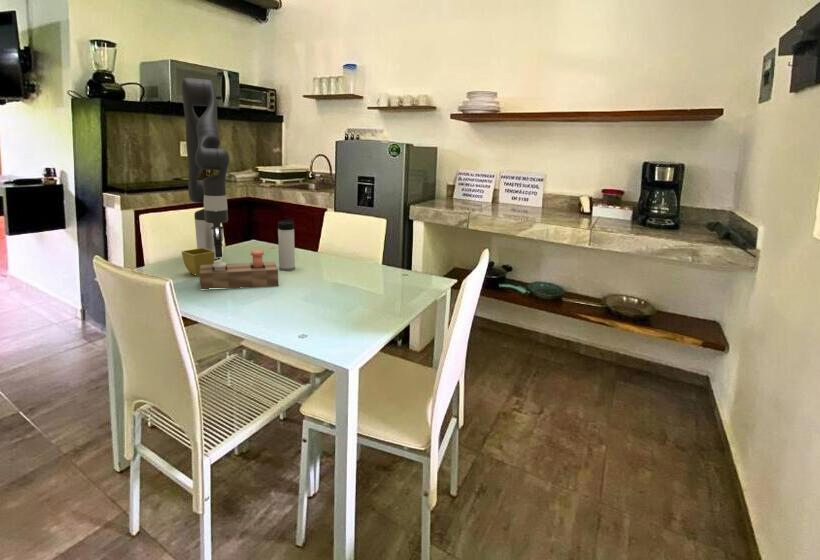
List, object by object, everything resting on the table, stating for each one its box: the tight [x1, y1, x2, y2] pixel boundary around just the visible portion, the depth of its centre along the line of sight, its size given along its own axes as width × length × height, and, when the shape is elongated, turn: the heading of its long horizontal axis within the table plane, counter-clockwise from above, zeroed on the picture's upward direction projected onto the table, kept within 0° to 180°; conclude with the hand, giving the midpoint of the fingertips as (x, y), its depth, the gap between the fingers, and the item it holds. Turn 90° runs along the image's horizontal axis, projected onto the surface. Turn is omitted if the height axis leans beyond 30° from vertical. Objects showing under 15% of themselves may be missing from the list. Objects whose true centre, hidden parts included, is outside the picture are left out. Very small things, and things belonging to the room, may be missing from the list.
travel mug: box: [277, 218, 296, 272], centre depth 195 cm, size 6×7×20 cm
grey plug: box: [213, 261, 227, 270], centre depth 172 cm, size 4×4×7 cm
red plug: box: [250, 249, 265, 269], centre depth 176 cm, size 4×4×7 cm
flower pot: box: [180, 248, 215, 276], centre depth 184 cm, size 9×9×9 cm
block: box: [199, 261, 279, 290], centre depth 175 cm, size 12×26×6 cm, turn 111°
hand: (219, 256), depth 171 cm, fingers closed
